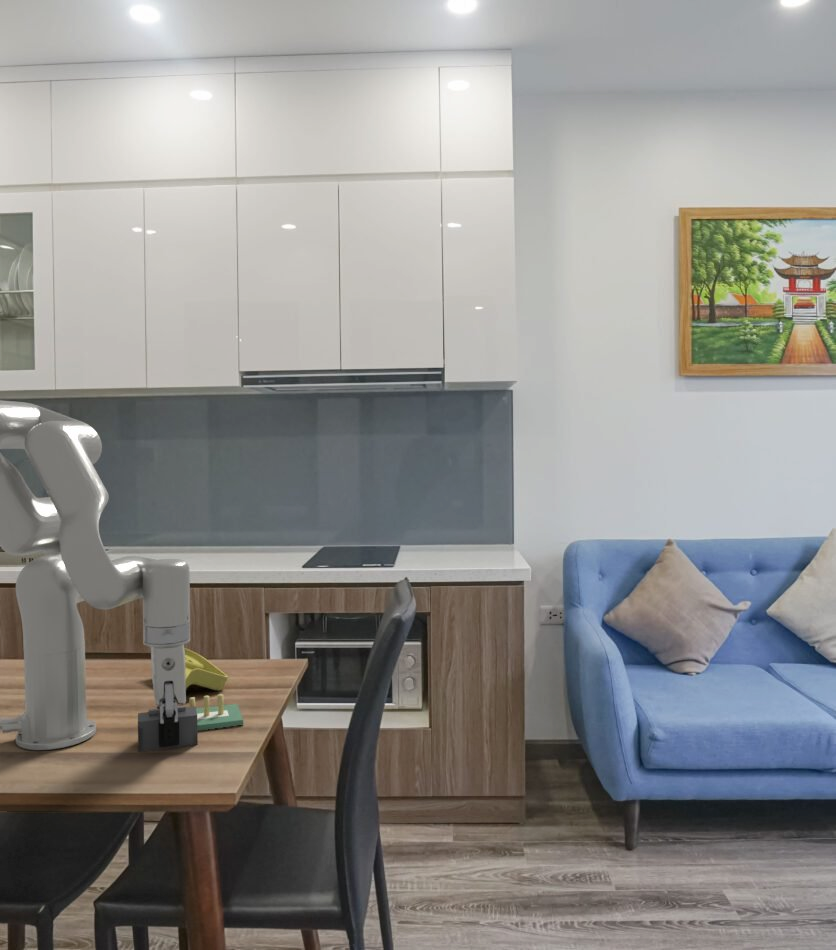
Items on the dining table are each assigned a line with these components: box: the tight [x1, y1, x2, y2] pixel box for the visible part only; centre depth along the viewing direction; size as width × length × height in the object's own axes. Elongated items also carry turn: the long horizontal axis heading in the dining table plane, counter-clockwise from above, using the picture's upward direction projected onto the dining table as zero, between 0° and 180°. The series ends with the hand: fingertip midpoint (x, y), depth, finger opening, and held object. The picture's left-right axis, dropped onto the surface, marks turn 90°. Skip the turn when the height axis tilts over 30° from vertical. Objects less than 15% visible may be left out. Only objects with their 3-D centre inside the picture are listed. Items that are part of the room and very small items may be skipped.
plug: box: [137, 705, 199, 753], centre depth 130 cm, size 9×4×6 cm, turn 110°
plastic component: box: [184, 647, 229, 692], centre depth 163 cm, size 20×7×10 cm
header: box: [188, 693, 244, 732], centre depth 141 cm, size 12×9×4 cm
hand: (168, 736), depth 131 cm, fingers open, 7 cm apart
